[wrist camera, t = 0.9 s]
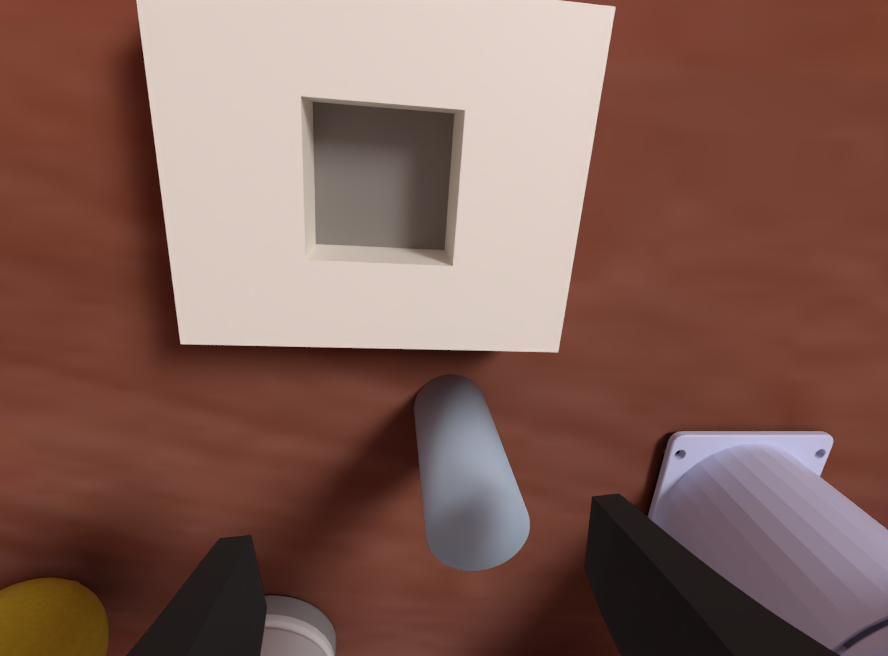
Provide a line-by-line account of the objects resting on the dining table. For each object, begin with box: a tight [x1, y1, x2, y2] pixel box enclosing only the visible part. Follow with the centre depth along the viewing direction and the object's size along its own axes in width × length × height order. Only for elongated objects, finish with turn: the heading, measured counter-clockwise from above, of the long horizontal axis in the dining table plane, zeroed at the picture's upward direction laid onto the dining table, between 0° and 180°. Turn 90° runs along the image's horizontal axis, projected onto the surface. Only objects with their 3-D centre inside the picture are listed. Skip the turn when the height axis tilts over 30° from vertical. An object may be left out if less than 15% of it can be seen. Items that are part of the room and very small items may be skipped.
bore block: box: [136, 0, 615, 352], centre depth 16 cm, size 10×12×3 cm
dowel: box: [414, 375, 530, 571], centre depth 17 cm, size 3×3×7 cm
